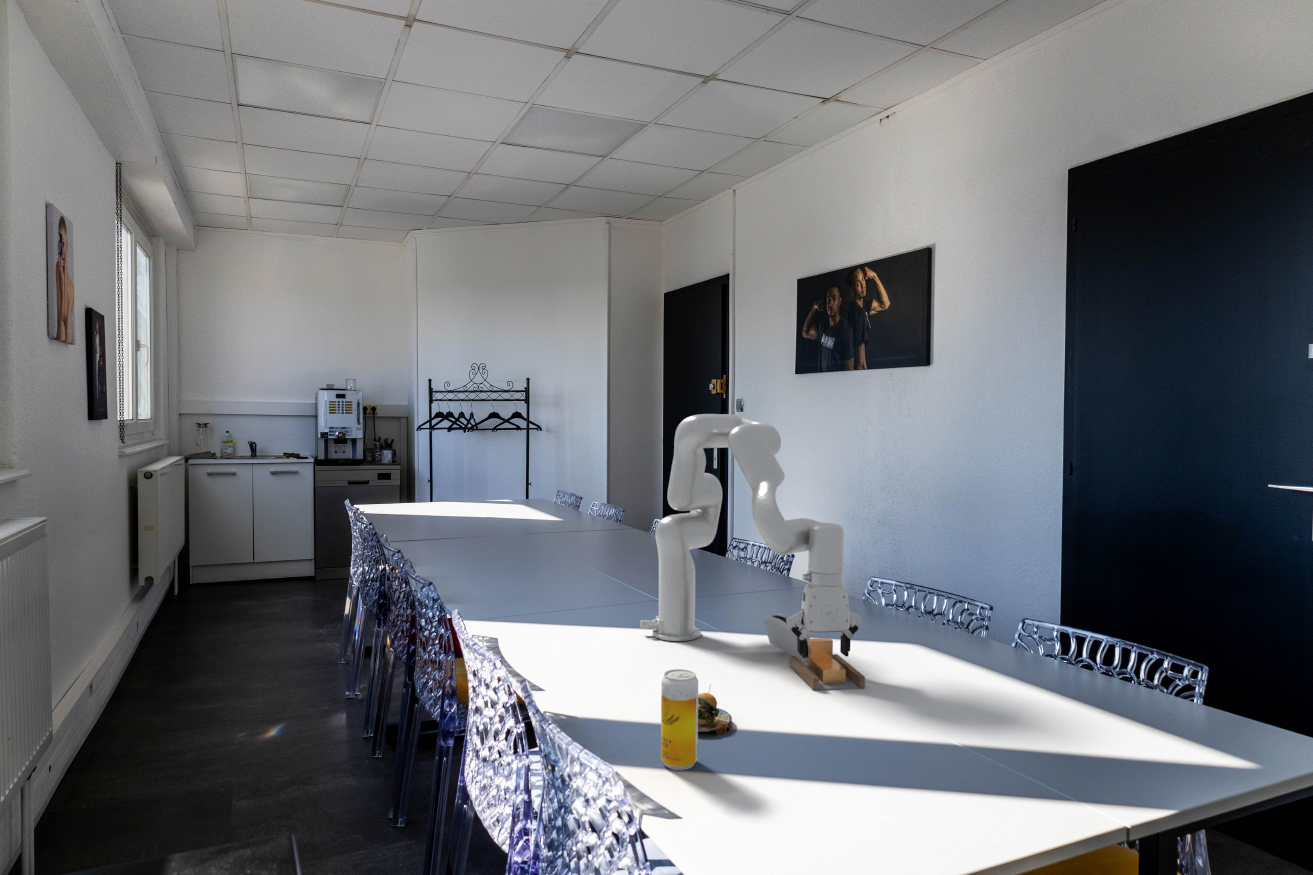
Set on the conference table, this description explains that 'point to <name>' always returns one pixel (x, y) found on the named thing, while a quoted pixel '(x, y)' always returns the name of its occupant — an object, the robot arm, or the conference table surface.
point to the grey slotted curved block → (784, 635)
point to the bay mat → (838, 685)
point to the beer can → (679, 719)
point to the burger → (712, 715)
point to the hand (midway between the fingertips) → (823, 655)
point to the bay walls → (814, 680)
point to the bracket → (824, 661)
